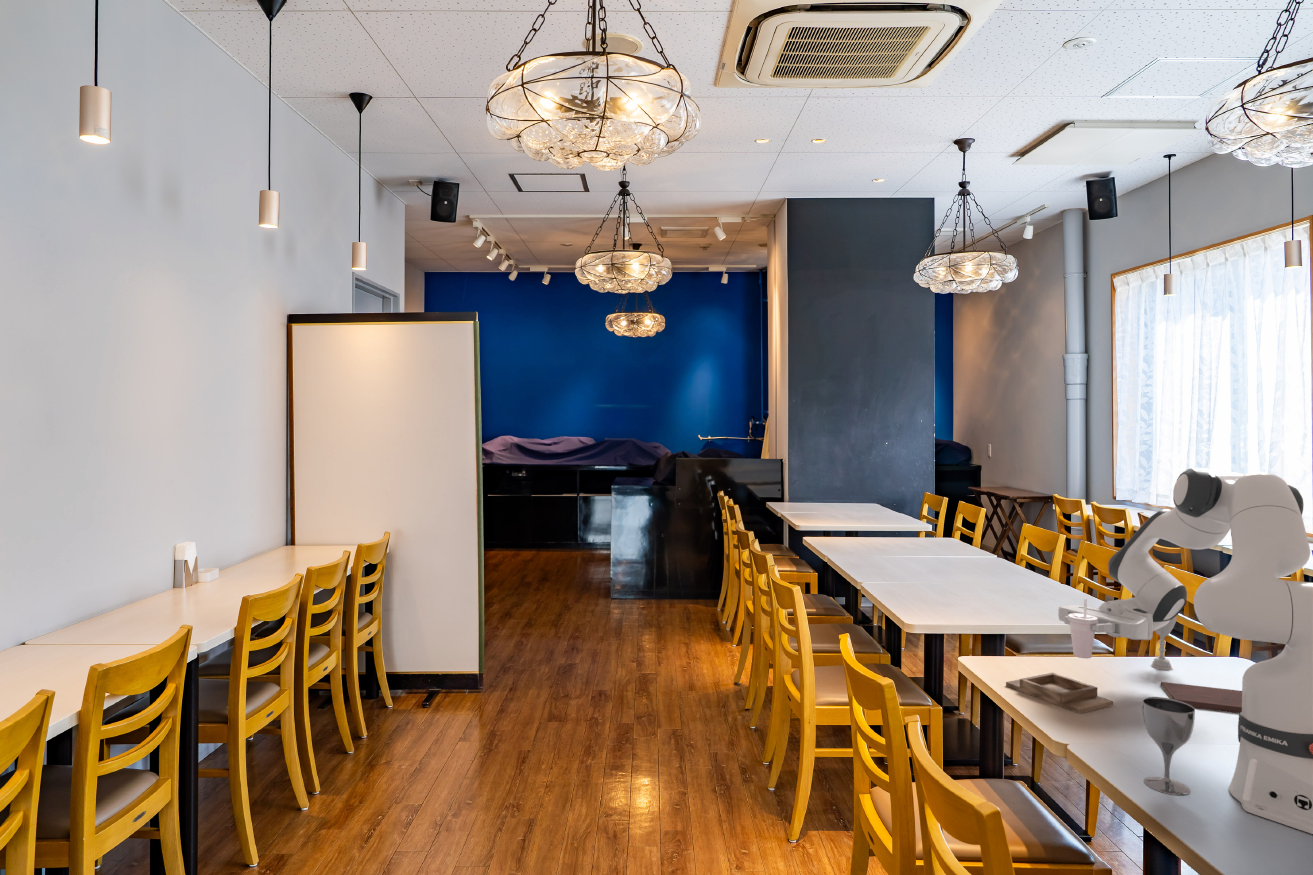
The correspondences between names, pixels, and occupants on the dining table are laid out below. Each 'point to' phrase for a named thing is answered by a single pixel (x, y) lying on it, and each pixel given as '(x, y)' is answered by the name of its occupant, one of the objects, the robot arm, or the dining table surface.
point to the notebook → (1205, 697)
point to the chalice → (1161, 661)
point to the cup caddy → (1062, 692)
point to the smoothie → (1082, 632)
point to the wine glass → (1168, 736)
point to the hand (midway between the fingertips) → (1080, 624)
